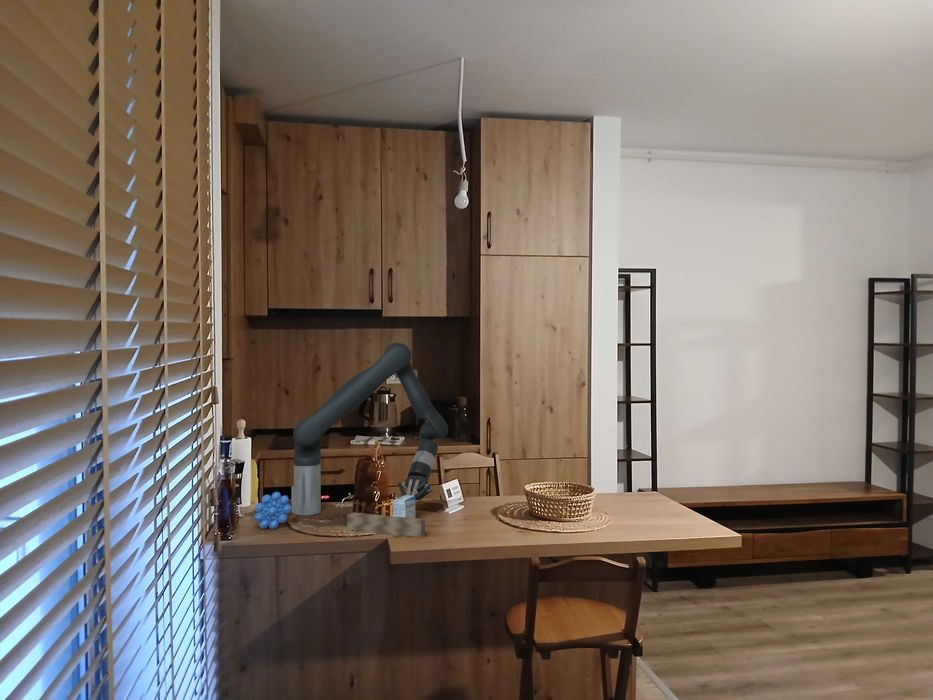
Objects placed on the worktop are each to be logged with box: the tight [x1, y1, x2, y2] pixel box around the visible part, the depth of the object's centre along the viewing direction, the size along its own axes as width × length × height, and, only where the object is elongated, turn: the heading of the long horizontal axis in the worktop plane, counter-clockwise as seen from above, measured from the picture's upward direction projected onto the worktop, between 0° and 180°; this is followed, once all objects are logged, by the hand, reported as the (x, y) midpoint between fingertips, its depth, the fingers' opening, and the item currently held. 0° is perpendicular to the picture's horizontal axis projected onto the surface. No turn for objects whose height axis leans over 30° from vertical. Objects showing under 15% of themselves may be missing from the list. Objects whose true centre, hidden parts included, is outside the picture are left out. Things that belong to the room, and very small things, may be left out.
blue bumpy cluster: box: [253, 491, 292, 530], centre depth 212 cm, size 12×7×12 cm, turn 101°
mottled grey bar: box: [346, 511, 426, 538], centre depth 207 cm, size 26×3×5 cm, turn 70°
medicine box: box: [392, 495, 416, 518], centre depth 217 cm, size 8×4×9 cm, turn 159°
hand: (407, 509), depth 222 cm, fingers closed
